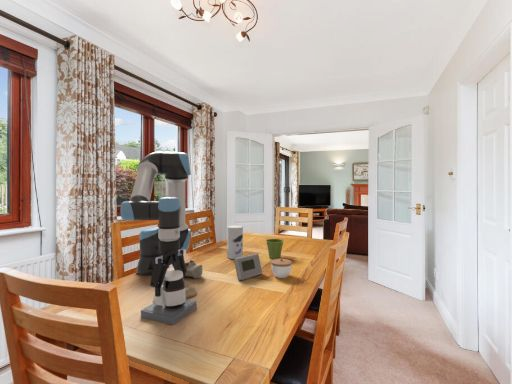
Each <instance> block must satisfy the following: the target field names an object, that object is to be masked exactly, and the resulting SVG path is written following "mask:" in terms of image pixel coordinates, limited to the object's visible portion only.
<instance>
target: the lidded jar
mask: <svg viewBox="0 0 512 384" xmlns="http://www.w3.org/2000/svg"><path fill="white" fill-rule="evenodd" d="M270 263H271V265H270V266H271V272H272V274H273V276H275V278H277V279H286V278H288V276H289V275H290V274H291V272H292V265H293V262H292V260H290V259H287V258H282V257H280V258H279V259H271V261H270Z"/></svg>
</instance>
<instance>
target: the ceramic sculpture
mask: <svg viewBox="0 0 512 384" xmlns="http://www.w3.org/2000/svg"><path fill="white" fill-rule="evenodd" d="M185 266H186V273H184V274H185V276H184V277H187V278H193V279H199V278H200V277H202V276H203V264H196V262H195V261H194V260H190V261H188V262H185ZM182 270H183V269H182Z"/></svg>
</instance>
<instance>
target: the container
mask: <svg viewBox="0 0 512 384" xmlns="http://www.w3.org/2000/svg"><path fill="white" fill-rule="evenodd" d="M226 230H227V233H226V236H227V237H226V239H227V241H226V242H227V246H226V247H227V249H226V250H227V251H226V253H227V254H226V255H227V258H228V259H231V260H234V259H235V258H238V257H241V256H244V255H243V253H244V251H243V250H244V249H243V248H244V233H243V232H244V227H243V226H242V225H227V227H226Z"/></svg>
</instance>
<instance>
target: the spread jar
mask: <svg viewBox="0 0 512 384" xmlns="http://www.w3.org/2000/svg"><path fill="white" fill-rule="evenodd" d="M162 286H163V300H164V306H165V307H166V308H169V309H175V308H179V307H181V306H182V305H184V304H185V302H186V295H185V287H186V283H185V279H184V276H183V272H182V271H180V270H174V269H173V270H172V269H171V270H167V271H166V274H165V277H164V280H163V283H162ZM153 303H155V304H156V296H155V294H154V295H153V299H152V304H153Z"/></svg>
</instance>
